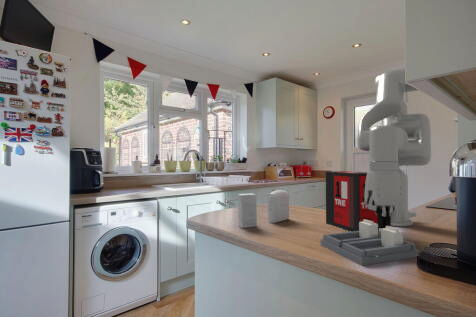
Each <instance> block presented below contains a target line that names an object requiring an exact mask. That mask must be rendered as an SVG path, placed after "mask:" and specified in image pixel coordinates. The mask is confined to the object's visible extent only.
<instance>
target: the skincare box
mask: <svg viewBox="0 0 476 317" xmlns="http://www.w3.org/2000/svg"><path fill="white" fill-rule="evenodd" d="M237 208H238V209H237V210H238V211H237V212H238V214H237V215H238V218H237V220H238V227H240V228H243V229H244V228H245V229H246V228H253V227H254V228H255V227H257V226H258V219H257V216H258V215H257V214H258V213H257V208H258V207H257V194H255V193H253V192H251V193H238V194H237Z"/></svg>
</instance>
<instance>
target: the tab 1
mask: <svg viewBox="0 0 476 317" xmlns="http://www.w3.org/2000/svg"><path fill="white" fill-rule="evenodd" d="M370 236H378V224H375V223H374V222H373V221H369V220H366V219H364V220H363V222H359V237H360V238H362V237H370Z"/></svg>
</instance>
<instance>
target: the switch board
mask: <svg viewBox="0 0 476 317" xmlns="http://www.w3.org/2000/svg"><path fill="white" fill-rule="evenodd" d="M416 245H417V244H416V243H414V242H410V241H407V240H404V239H403V244H401V245H394V246H386V247H384V246H382V245H381V232H380V231H379V232H378V236H370V237H362V238H360V237H359V231H352V232H350V231H345V232H336V233H335V232H334V233H328V234H323V236H322V239H320V246H323V247H324V248H326V249H328V250H331V251H332V252H335V253H337V254H338V255H340V256H342V257H344V258H346V259H348V260H350V261H352V262H354V263H356V264H357V265H360V266H369V265H374V264H375V265H376V264H381V263H382V264H383V263H389V262H393V261H399V260H406V259H413V258H418V257H417V255H418V253H419V254H420V250H419V249H417V248H416V247H417V246H416Z"/></svg>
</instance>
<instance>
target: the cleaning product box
mask: <svg viewBox="0 0 476 317" xmlns="http://www.w3.org/2000/svg"><path fill="white" fill-rule="evenodd" d="M367 173H368V171H365V172H363V171H347V170H346V171H345V170H340V171H325V223H326V224H327V225H330V226H332V225H333V226H332V227H335V226H336V228H338V227H339V228H338V229H341V228H342V230H344V229H345V230H344V231H347V230H348V231H347V232H350V231H351V232H352V231H359V222H363V220H364V219H366V220H369V221H373V222H374V223H375V224H378V215H376V213H375V211H374V210H370V209H368V205H369V204H366V203H365V198H364V197H365V182H366V177H367ZM378 232H379V233H380V228H378Z"/></svg>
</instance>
